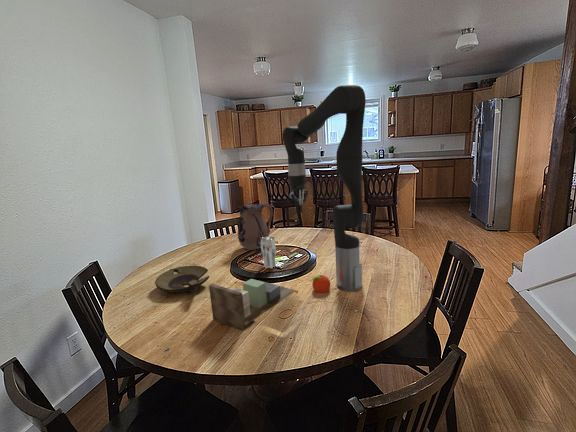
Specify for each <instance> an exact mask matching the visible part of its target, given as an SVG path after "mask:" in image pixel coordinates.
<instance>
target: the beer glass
mask: <svg viewBox="0 0 576 432" xmlns="http://www.w3.org/2000/svg"><path fill="white" fill-rule="evenodd" d="M275 239H276V238H275V236H271V235H269V237H263V238H261V239H260V240H261V248H260V252H261V255H262V259H263V268H264V267H265V269H267V268H270V269H274V268H275V266H276V267H277V263H276V251H277V250H276V246H277V245H276V240H275ZM273 267H274V268H273Z"/></svg>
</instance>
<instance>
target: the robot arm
mask: <svg viewBox="0 0 576 432" xmlns="http://www.w3.org/2000/svg"><path fill="white" fill-rule="evenodd" d="M366 102H367V101H366V93H365V90H364V89H363V88H362V86H360V85H356V84H355V85H354V84H341V85H338V86H336V87H335V88H334V89H333V90H332V91H331V92H330V93H329V94H328V95H327V96H326V98H325V99H324V100H323V101H321V103H320V104H319V105H318V106H317V107H315V108H314V109H313V111H312V112H310V113H308V114H307V115H306V116H305V117H303V118H302V119H300V121H298V123H297V126H287V127H285V128H284V129H283V131H282V135H281V137H282V141H283V145H284V148H285V150H286V154H287V163H288V164H287V165H288V166H287V168H288V169H287V171H288V172H287V173H288V185H289V186H290V187H291V188H290V191H291V192H290V193H288V194H287V197H288V199H289V201H290V202H291V203H292V205H295V209H296V210H295V211H296V214H298V215H299V214H302V213H303V205H304V203H305V202H306V199H307V197H308V194H309V190H307V189H306V187H305V186H306V185H307V174H306V171H307V170H306V164H305V152H304V150H303V149H299V148H297V146H296V144H303V143H305V142H306V141H308V139H309V138H310V137H311V135H313V134H314V133H316V132H317V131H318V132H319V130H320V129H322V127H323V126H324V125H325V123H326V121H327V120H328V119H330V118H332V117H333V116H336V115H339V114H345V122H346V123H345V129H344V133H343V134H342V137H341V140H340V141H339V144H338V146H337V150H336V156H335V157H336V159H335V160H336V172H337V174H338V176H339V178H340V179H341V182H342V183H343V184H344V185H345V187H346V188H347V190H348V192H349V195H350V204H338V205H335V206H334V207H333V209H332V221H333V234H334V246H335V275H336V276H335V277H336V286H337V289H339V290H341V291H343V292H357V291H358V290H359V289H360V288H361V287H362V286H363V264H362V263H361V262H360V261H361V260H360V259H361V257H360V238H359V237H357V236H355V235H353V234H352V235H351V234H348V233H346V230H348V229H349V230H350V229H357V228H361V226H363V221H364V203H363V192H362V191H363V187H362V185H363V184H362V181H363V179H362V177H363V132H364V130H363V129H364V122H365V121H364V119H365V111H366Z"/></svg>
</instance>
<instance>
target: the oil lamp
mask: <svg viewBox="0 0 576 432" xmlns="http://www.w3.org/2000/svg"><path fill="white" fill-rule="evenodd" d="M208 272H209V270H208V268H206V267H205V266H201V265H185V266H184V265H183V266H177V267H175V268H174V267H173V268H170V269H169V270H166V271H164V272H162V273H160V274H159V275H158V276H157V278H156V279H155V281H154V284H155V286H156V288H157V289H159V290H160V291H163V292H168V293H169V292H170V293H183V292H184V293H185V292H189V293H195V292H196V291H197V290H198V288H199V287H200V286H202V285H203V284H204V283H206V282H207V280H209V278H210V275H207V276H205V277H203V276H204V275H206V273H208ZM202 277H203V278H202ZM184 285H187V286H184Z"/></svg>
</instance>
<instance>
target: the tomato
mask: <svg viewBox="0 0 576 432" xmlns="http://www.w3.org/2000/svg"><path fill="white" fill-rule="evenodd" d="M310 282H311V283H312V284H311V285H312V288H313V290H314V291H315V292H316V293H321V294H322V293H327V292H328V291H329V290H330V288H331V281H330V279H329V278H328V277H327V276H325V275H323V274H319V275H316V276H314V277H313V278H312V279H311V281H310Z"/></svg>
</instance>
